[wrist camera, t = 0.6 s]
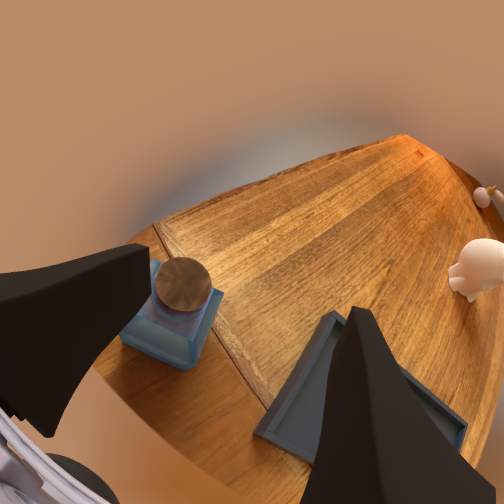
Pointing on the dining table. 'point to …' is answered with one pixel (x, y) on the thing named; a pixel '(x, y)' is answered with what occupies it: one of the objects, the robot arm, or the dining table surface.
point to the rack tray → (313, 399)
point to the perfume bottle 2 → (486, 196)
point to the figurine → (478, 268)
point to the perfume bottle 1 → (175, 313)
